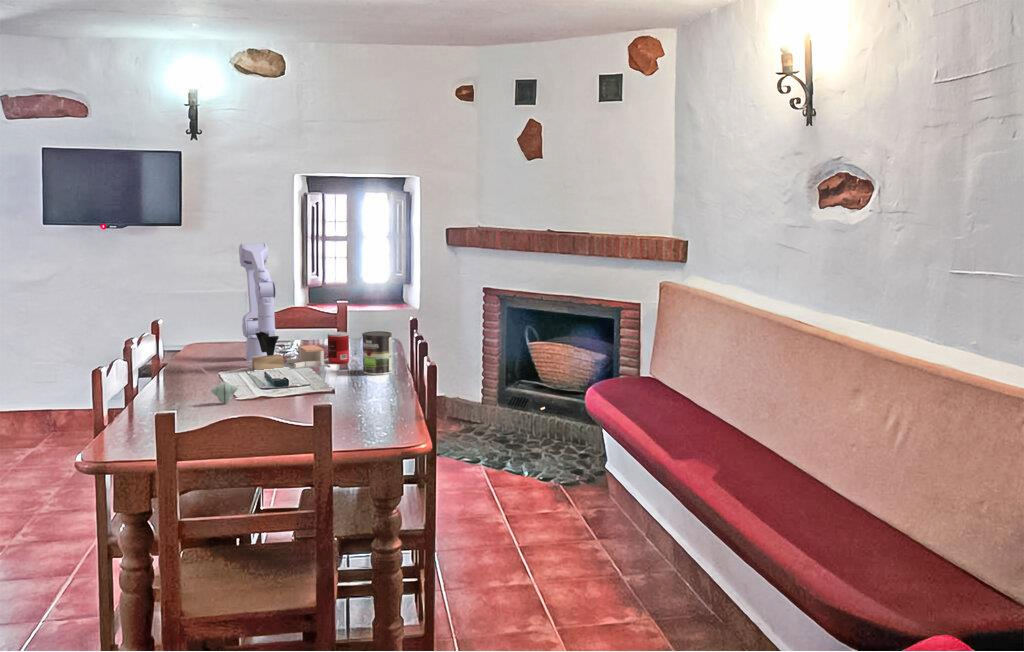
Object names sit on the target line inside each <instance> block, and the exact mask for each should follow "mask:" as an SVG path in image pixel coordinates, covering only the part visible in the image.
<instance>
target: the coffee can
mask: <svg viewBox="0 0 1024 652" xmlns="http://www.w3.org/2000/svg"><path fill="white" fill-rule="evenodd" d="M361 335H362V373H363V374H364V375H368V376H384V375H389V374H392V372H393V369H392V367H393V366H392V364H393V363H392V361H393V360H392V356H393V355H392V335H393V333H392V332H390V331H385V330H383V331H381V330H379V331H378V330H377V331H372V330H371V331H365V332H363V333H362V334H361Z"/></svg>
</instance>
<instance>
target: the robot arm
mask: <svg viewBox="0 0 1024 652" xmlns="http://www.w3.org/2000/svg"><path fill="white" fill-rule="evenodd" d="M238 254H239V264H240V267H243V268H245V272H246V278H247V291H248V293H247V294H248V305H249V306H248V307H249V309H248V310H249V311H248V312H247V313H246V314H245V315H243V317H242V326H241V328H242V334H243V336H244V338H246V342H245V349H246V357H243V359H244V360H245V359H246V360H245V361H247V362H249V363H250V362H251V363H252V357H255V356H272V355H275V351H276V350H275V348H276V345H277V342H278V340H279V338H280V337H279V335H276V320H275V318H276V317H275V315H276V313H275V298H276V295H277V292H276V291H277V290H276V289H277V287H276V284H275V282H274V280H272V278H271V274H270V271H269V270H268V268H266V264H267V260H268V258H269V247H268V244H267V243H266V242H262V243H240V244H239V247H238Z"/></svg>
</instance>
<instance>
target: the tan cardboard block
mask: <svg viewBox="0 0 1024 652" xmlns="http://www.w3.org/2000/svg"><path fill="white" fill-rule="evenodd" d="M283 362H284V356H283V355H282V354H274V355H272V356H255V357H252V362H251V365H252V368H253V370H264V369H274V368H283ZM253 370H252V371H253Z"/></svg>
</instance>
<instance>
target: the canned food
mask: <svg viewBox="0 0 1024 652" xmlns="http://www.w3.org/2000/svg"><path fill="white" fill-rule="evenodd" d="M349 343H350V337H349V332H346V331H333V332H331V331H330V332H328V333H327V358H328V360H327V361H328V363H329V364H332V365H342V364H347V363H349V362H350V344H349Z"/></svg>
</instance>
